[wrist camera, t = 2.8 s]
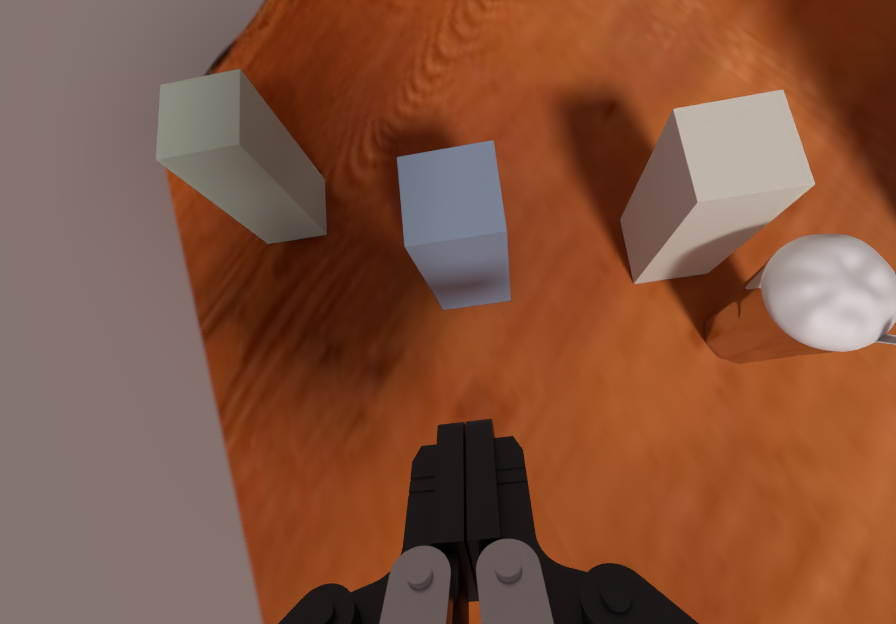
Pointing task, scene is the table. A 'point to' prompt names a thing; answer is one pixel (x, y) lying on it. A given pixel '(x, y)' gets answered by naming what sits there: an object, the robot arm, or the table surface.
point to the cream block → (713, 185)
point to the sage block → (240, 156)
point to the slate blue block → (456, 223)
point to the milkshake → (808, 303)
